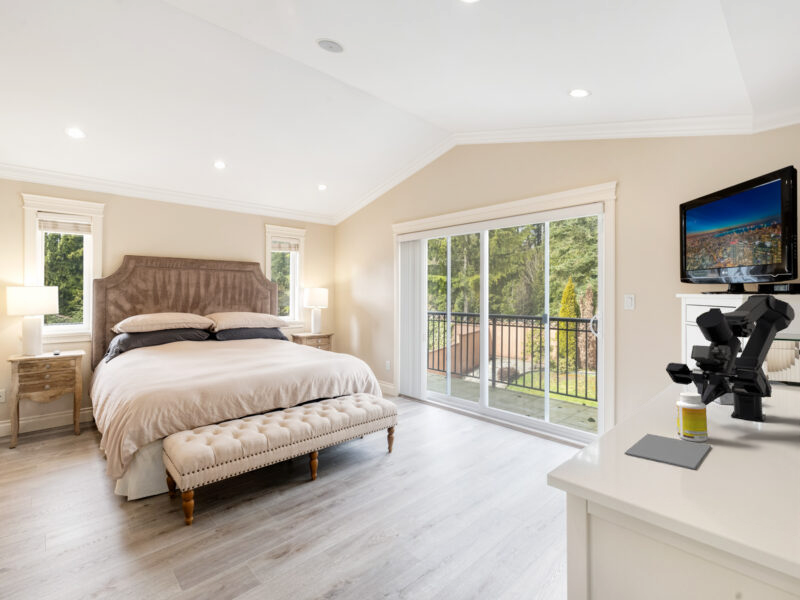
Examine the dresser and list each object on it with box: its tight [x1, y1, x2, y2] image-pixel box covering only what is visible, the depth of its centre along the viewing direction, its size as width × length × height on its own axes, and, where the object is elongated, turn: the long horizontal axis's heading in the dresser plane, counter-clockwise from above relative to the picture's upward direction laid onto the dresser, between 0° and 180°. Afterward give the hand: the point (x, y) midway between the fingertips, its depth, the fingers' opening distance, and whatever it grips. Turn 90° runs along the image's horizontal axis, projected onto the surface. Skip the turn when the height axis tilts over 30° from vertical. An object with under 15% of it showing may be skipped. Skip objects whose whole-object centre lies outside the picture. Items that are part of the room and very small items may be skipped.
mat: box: [624, 433, 712, 471], centre depth 85 cm, size 16×12×1 cm
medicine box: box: [708, 382, 734, 405], centre depth 123 cm, size 8×4×9 cm, turn 168°
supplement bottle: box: [675, 391, 709, 443], centre depth 92 cm, size 6×6×10 cm
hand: (701, 405), depth 94 cm, fingers closed
